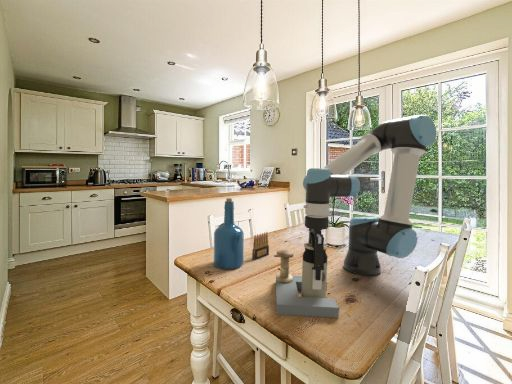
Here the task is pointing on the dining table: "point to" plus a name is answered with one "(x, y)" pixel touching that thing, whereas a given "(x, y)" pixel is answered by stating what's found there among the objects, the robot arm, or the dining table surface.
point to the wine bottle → (228, 241)
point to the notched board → (302, 301)
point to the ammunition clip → (260, 246)
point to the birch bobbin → (284, 266)
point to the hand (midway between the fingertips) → (314, 281)
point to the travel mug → (308, 274)
